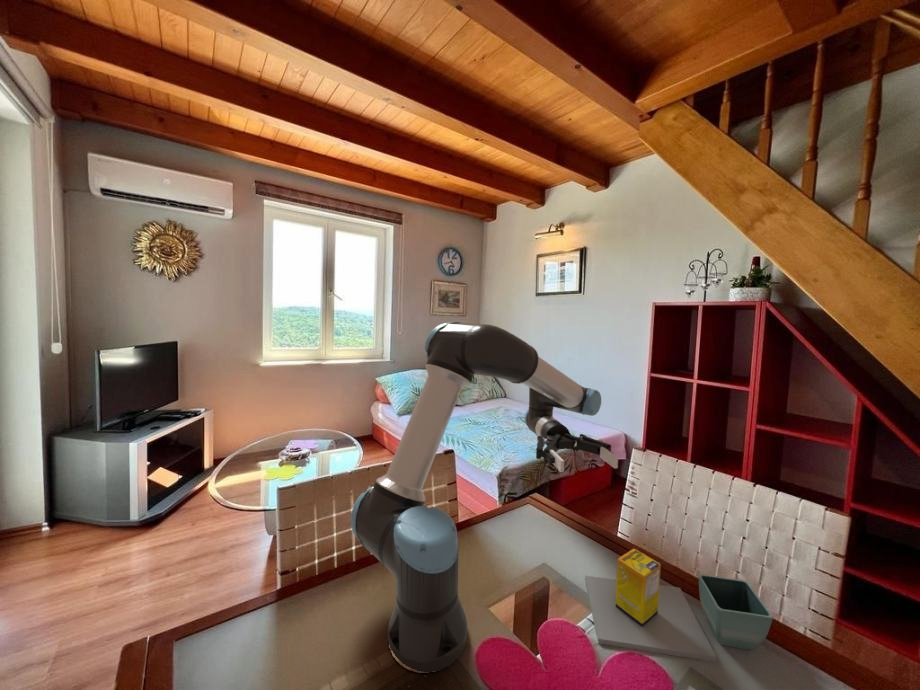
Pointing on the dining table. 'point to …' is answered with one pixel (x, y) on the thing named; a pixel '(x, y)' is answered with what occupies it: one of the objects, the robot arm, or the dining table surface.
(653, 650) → the board
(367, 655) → the dining table surface
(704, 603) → the flower pot
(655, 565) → the supplement box
